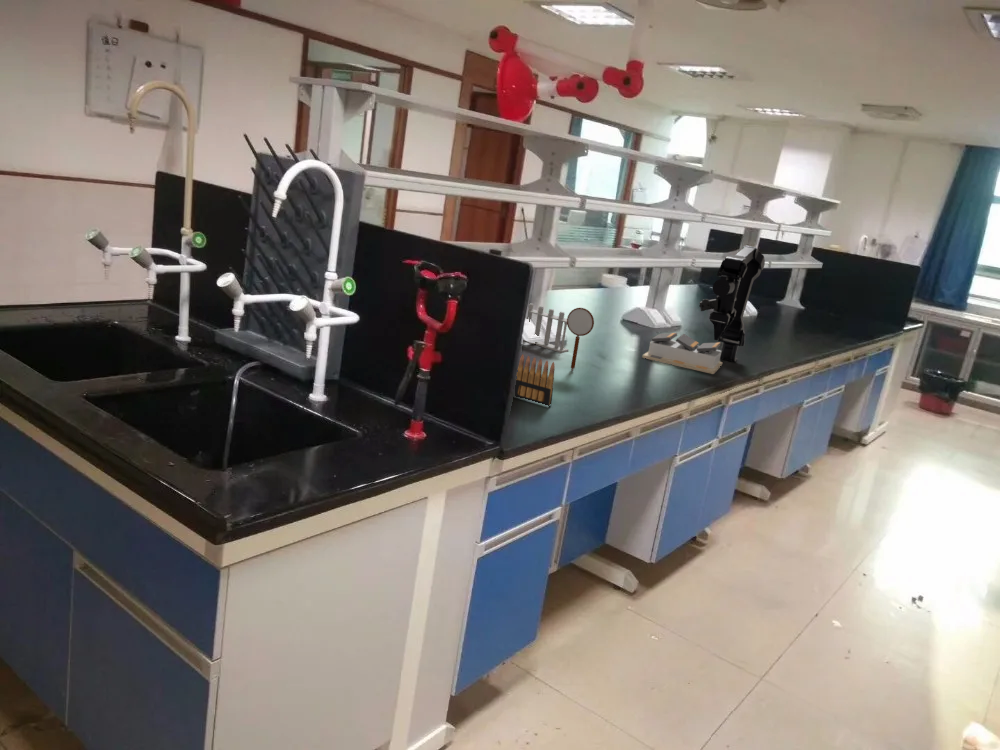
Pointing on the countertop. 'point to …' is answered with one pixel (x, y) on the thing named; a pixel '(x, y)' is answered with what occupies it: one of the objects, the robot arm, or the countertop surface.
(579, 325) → the magnifying glass
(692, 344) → the switch middle
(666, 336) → the switch
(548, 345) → the grey picket fence
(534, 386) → the ammunition clip
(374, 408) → the countertop surface
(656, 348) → the switch unit
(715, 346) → the switch
